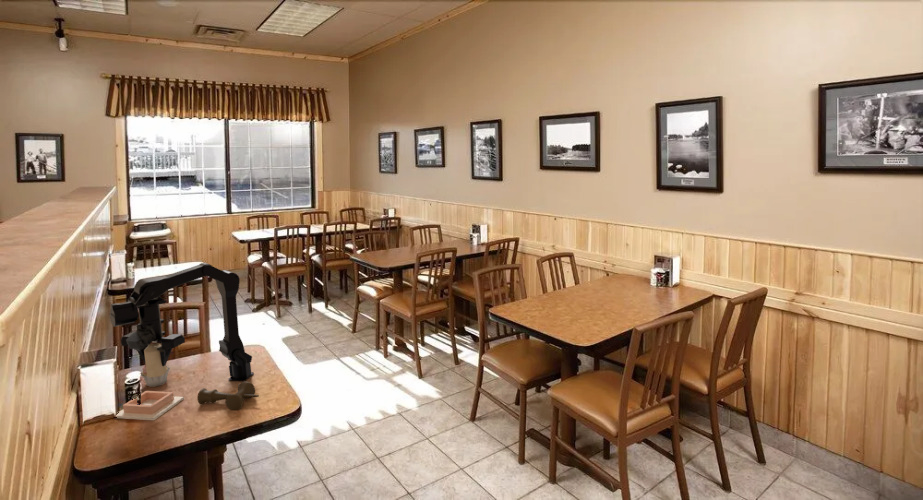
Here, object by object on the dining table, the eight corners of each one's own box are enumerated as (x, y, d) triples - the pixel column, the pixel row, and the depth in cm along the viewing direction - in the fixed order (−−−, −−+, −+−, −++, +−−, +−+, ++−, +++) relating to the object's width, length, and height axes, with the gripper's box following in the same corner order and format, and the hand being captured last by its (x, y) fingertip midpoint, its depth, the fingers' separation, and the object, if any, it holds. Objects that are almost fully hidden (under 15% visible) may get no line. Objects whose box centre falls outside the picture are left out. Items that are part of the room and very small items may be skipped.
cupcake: (161, 375, 196) (158, 350, 194) (177, 380, 191) (173, 354, 189) (136, 385, 188) (132, 359, 186) (151, 391, 183) (147, 364, 181)
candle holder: (183, 399, 177) (182, 389, 176) (153, 420, 163) (152, 410, 163) (146, 396, 179) (144, 387, 178) (113, 417, 165) (112, 408, 165)
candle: (157, 378, 168) (154, 348, 166) (142, 376, 169) (139, 347, 167) (170, 371, 174) (167, 342, 172) (155, 370, 175) (152, 341, 173)
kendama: (210, 397, 179) (266, 396, 177) (193, 412, 170) (253, 412, 168) (207, 381, 178) (264, 380, 176) (190, 395, 168) (250, 394, 166)
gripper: (103, 325, 162) (110, 373, 164) (158, 328, 159) (164, 377, 162) (131, 314, 172) (137, 360, 175) (183, 317, 170) (188, 363, 172)
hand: (155, 365), depth 171 cm, fingers closed on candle, 5 cm apart
